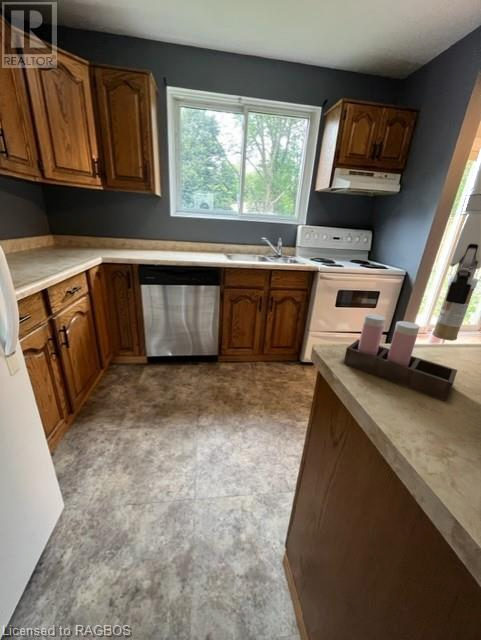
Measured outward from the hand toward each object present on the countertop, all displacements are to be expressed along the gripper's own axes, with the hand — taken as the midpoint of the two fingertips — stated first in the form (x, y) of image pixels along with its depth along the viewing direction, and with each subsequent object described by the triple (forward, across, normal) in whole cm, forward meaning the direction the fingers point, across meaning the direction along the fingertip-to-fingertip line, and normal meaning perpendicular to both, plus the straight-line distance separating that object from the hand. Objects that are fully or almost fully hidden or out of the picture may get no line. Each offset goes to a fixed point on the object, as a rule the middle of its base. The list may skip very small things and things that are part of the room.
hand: (456, 299), depth 57 cm
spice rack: (+21, 0, -7) cm, 23 cm away
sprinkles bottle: (+9, 0, 0) cm, 9 cm away
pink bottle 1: (+21, 0, -15) cm, 26 cm away
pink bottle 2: (+21, 0, -7) cm, 22 cm away
